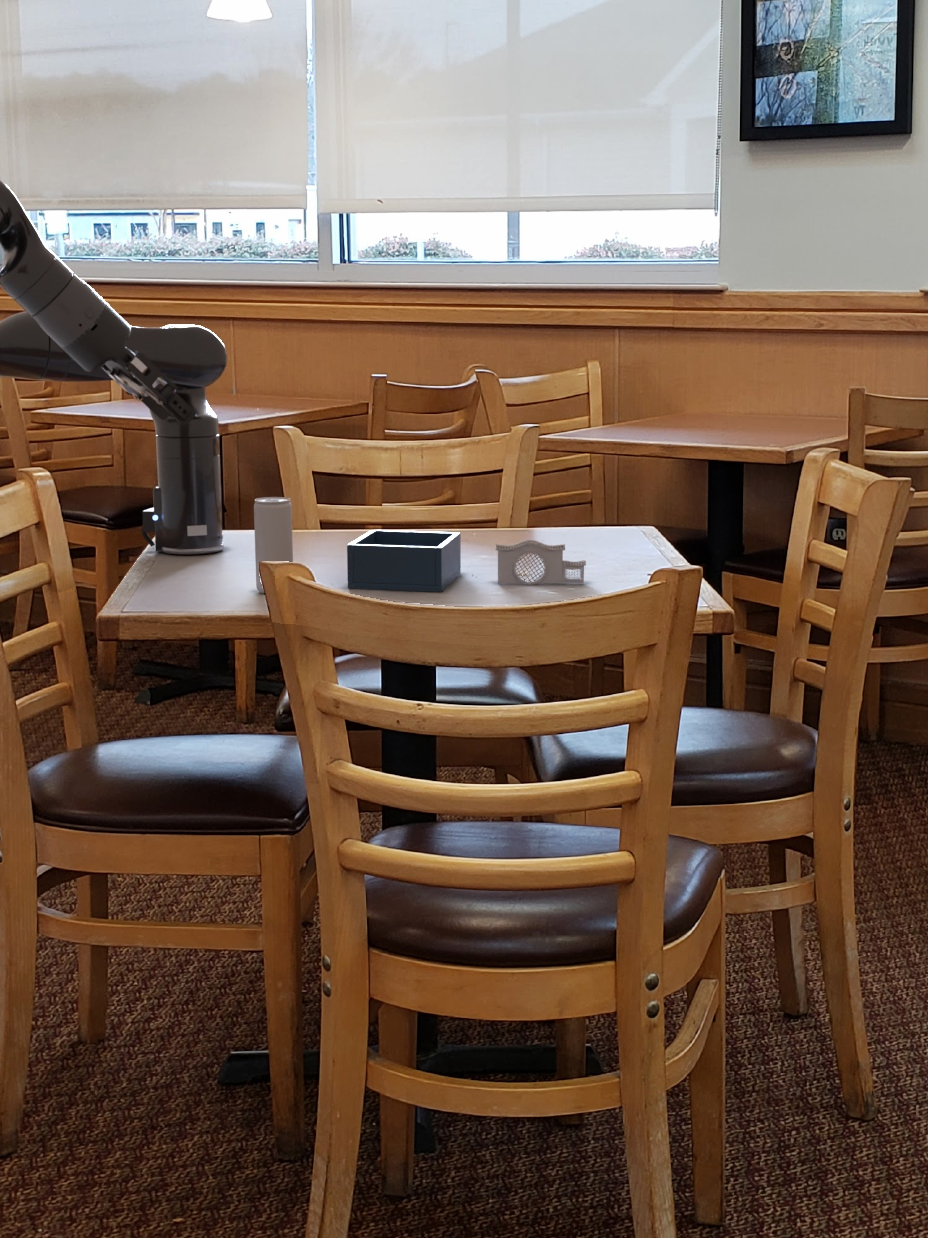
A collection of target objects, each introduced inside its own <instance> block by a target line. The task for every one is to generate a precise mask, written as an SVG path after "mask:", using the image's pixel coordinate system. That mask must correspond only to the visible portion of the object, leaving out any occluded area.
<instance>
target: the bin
mask: <svg viewBox="0 0 928 1238" xmlns="http://www.w3.org/2000/svg"><path fill="white" fill-rule="evenodd" d="M461 534H462V533H461V532H453V531H451V532H450V531H425V530H424V531H423V530H421V531H420V530H419V531H418V530H394V529H393V530H389V529H388V530H387V529H371V530H369V531H367V532H366V533H364V534H363V535H361V536H359V537H358V538H356V539H355V540H353V541H351V542H349V543H348V544H347V545H346V559H347V560H346V565H347V571H346V572H347V589H357V590H380V591H381V590H382V591H405V592H426V593H427V592H431V593H442V592H443V591H444V590H445V589H446V588H448V586H450V585H451V583H453V582H454V581H455V580H456V579H457V578H458V577H459V576H460V575H461V573H462V572H461V571H462V570H461V569H462V568H461V565H462V563H461V560H462V559H461V556H462V555H461V554H462V553H461V552H462V551H461V549H462V547H461V545H462V543H461V542H462V541H461V539H462V537H461Z"/></svg>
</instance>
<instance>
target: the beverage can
mask: <svg viewBox="0 0 928 1238" xmlns="http://www.w3.org/2000/svg"><path fill="white" fill-rule="evenodd" d="M292 505H293V504H292V503H291V498H289V497H283V496H267V497H266V496H265V497H258V498H255V499H254V505H253V521H254V522H253V523H254V524H253V525H254V553H255V554H254V555H255V583H256V584H255V587H256V590H257V591H258V592H259V593H261V594H264V590H263V588H262V584H261V582H260V576H259V561H289V562H293V563H294V546H293V545H294V543H293V542H294V541H293V510H292V509H293V506H292Z"/></svg>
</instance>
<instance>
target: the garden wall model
mask: <svg viewBox="0 0 928 1238" xmlns="http://www.w3.org/2000/svg"><path fill="white" fill-rule="evenodd" d="M495 551H497V584H525V585H529V586H531V585H536V584H585V567H586V566H587V564H586V563H587V561H586V560H579V561H571V560H563V555H564V554H563V553H564V552H563V551H566V544H565V543H563V544H555V545H553V544H552V545H551V544H545V543H542V542H541V541H538V540H535V539H525V540H522V541H520V542H517V543H514V544H511V545H510V544H507V545H506V544H505V545H504V544H497V543H496V544H495ZM528 555H529V556H528ZM525 557H526V558H525ZM522 559H523V560H522ZM536 560H537V561H536ZM537 563H539V564H537ZM521 564H522V565H521ZM542 564H543V565H542ZM518 566H519V567H518ZM539 566H540V567H539ZM532 567H533V568H532ZM536 568H538V569H536ZM519 569H520V570H519ZM524 569H525V570H524ZM529 569H530V570H529ZM541 569H542V570H541ZM534 570H535V571H534ZM531 572H532V573H531ZM518 573H519V574H518ZM536 573H537V574H536ZM523 574H524V575H523ZM528 574H529V575H528ZM533 575H534V576H533ZM525 576H526V577H525ZM524 577H525V578H524ZM530 577H531V578H530Z"/></svg>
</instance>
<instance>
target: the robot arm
mask: <svg viewBox="0 0 928 1238" xmlns="http://www.w3.org/2000/svg"><path fill="white" fill-rule="evenodd" d="M0 247H1V249H2V252H3V254H4V255H3V262H2V264H1V267H0V287H1V289H2V290H3V291H4V292H5V293H6V294H7V295H8V296H9V297H10V298H11V299H13V300H14V301H15V302H16V303H17V305H19V306H20V307H21V309H23V310H24V311H20V312H17V313H15V314H12V315H9V316H7V317H6V318H4V319H2V320H0V378H9V379H19V380H30V381H41V382H42V381H43V382H62V383H63V382H67V383H68V382H69V383H70V382H74V383H75V382H76V383H78V382H106V381H107V382H109V381H114V382H115V383H116V384H117V385H118V386H119V387H120V388H121V389H122V390H123V391H124V392H125V394H126V395H128V396H130V397H133V398H134V399H135V400H137V401H139V402H141V403H143V405H145V406H146V407H147V408H148V409H149V414H150V416H151V419H152V421H153V423H154V430H155V431H154V432H155V447H156V450H155V451H156V467H157V468H156V469H157V471H156V472H157V473H156V474H157V486H155V487H154V488H153V489H152V496H153V497H152V498H153V499H152V500H153V501H152V502H153V503H152V504H153V507H150V508H147V509H144V510H142V526H141V534H142V536H143V538H144V540H145V541H146V542H147V543H148V545H149V546H150V548H151V547H152V548H153V546H155V552H157V553H165V554H171V555H205V554H212V553H216V552H220V551H223V550H224V548H225V547H224V534H223V508H222V507H223V506H222V504H223V503H222V483H221V482H222V477H221V475H222V474H221V455H220V453H221V451H220V449H221V448H220V425H219V424H220V423H219V418H218V416H217V415H216V413H215V412H214V411H213V409H212V408H211V407H210V405H209V402H208V399H207V391H206V388H207V387H209V386H211V385H214V383H216V382H217V381H219V379H220V378H221V377H222V375H223V374H224V373H225V370H226V368H227V365H228V353H227V350H226V347H225V344H224V343H223V342H222V340H221V339H220V338H219V337H218V336H217V334H215V333H214V332H212V331H211V330H210V329H208V328H205V327H204V326H201V325H195V324H167V325H165V326H161V327H143V326H142V327H141V326H132V325H130V324H129V323H128V321H126V320H125V319H124V318H123V317H122V316H121V315H120V314H119V313H118V312H117V311H116V310H115V309H114V308H113V307H112V306H111V305H110V304H109V303H108V302H107V301H105V299H104V298H103V297H102V296H101V295H99V293H98V292H97V291H95V289H94V288H92V286H90V285H89V284H88V283H87V282H85V280H83V279H81V278H80V277H79V276H77V275H76V274H75V272H73V271H72V270H71V269H70V268H69V267H68V266H67V265H66V264H65V263H64V262H63V261H62V259H60V257H58V256H57V255H56V254H55V253H54V252H53V251H52V250H51V249H49V247H48V245H47V244H46V243H45V241H44V239H43V238H42V235H40V233H39V231H38V230H37V228H36V227H35V225H34V223H33V222H32V220H31V218H30V217H29V215H28V214H27V212H26V210H25V209H24V207H23V205H22V203H21V202H20V200H19V199H18V198H17V195H16V194H15V193H14V192H13V191H12V190H11V189H10V187H9V186H8V185H7V184H6V183H4V181H2V180H1V179H0ZM148 533H154V541H153V539H152V538H151V537H150V536H149V534H148Z"/></svg>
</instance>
